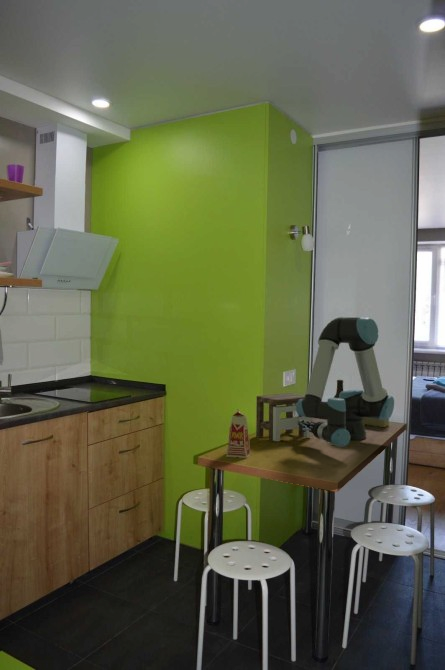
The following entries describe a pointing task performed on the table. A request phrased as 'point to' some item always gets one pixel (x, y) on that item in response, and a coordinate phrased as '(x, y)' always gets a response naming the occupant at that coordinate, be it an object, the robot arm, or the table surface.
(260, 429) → the stool
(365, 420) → the cheese
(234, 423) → the milk carton
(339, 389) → the beer bottle
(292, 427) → the gate leg
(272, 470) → the table surface
